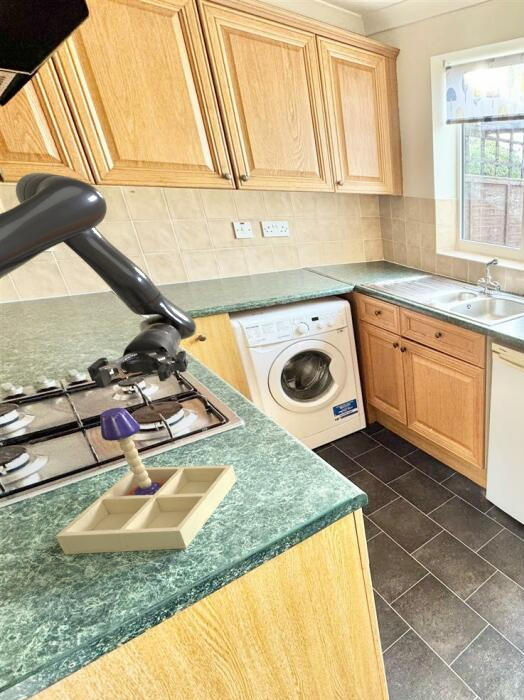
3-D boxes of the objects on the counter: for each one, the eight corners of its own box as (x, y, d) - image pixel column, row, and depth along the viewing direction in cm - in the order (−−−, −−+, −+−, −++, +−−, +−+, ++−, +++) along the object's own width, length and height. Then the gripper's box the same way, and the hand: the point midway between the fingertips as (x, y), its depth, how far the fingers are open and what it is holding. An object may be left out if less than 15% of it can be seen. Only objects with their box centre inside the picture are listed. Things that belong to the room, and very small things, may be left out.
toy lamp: (131, 508, 70) (95, 421, 63) (126, 494, 72) (91, 410, 65) (167, 494, 73) (136, 411, 66) (161, 482, 76) (131, 401, 69)
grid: (64, 554, 62) (55, 536, 60) (140, 483, 76) (133, 467, 75) (186, 548, 64) (179, 530, 62) (236, 480, 79) (232, 465, 77)
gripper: (102, 336, 84) (71, 365, 71) (189, 330, 90) (174, 356, 77) (115, 370, 87) (86, 404, 74) (197, 362, 93) (185, 392, 80)
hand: (131, 379), depth 76 cm, fingers open, 8 cm apart
